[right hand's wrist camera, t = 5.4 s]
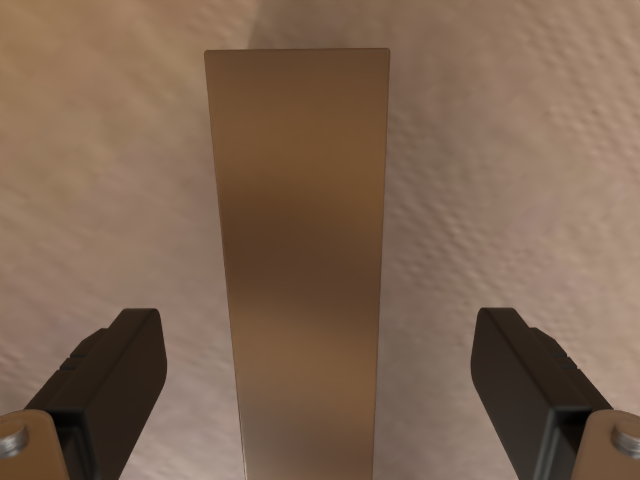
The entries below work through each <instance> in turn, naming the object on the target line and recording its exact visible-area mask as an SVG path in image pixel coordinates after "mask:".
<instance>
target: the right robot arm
mask: <svg viewBox="0 0 640 480" xmlns="http://www.w3.org/2000/svg"><path fill="white" fill-rule="evenodd" d="M166 374H167V358H166V352H165V345H164V338H163V331H162V325H161V318H160V314H159V312H158V310H157V309H155V308H126V309H124V310H122V311H121V313H120V314H119V315H118V316H117V318H116V319H115V320H114V321H113V323H112V324H111V325H110V326H109V328H101V329H100V330H98V331H96V332H95V333H93V334H92V335H90V336H89V337H87V338H86V339H84V340H83V341H82V342H81V343H80V344H79V345H78V346H77V347H76V349H75V350H74V351H73V352H72V353H71V354H70V358H67V359H66V360H65V361H64V363H63V364H62V365H61V366H60V369H59V370H57V371H56V372H55V373H54V374H53V375H52V377H51V378H50V379H49V380H48V381H47V382H46V384H45V385H44V386H43V387H42V388H41V389H40V391H39V392H38V393H37V394H36V395H35V396H34V398H33V399H32V400H31V401H30V402H29V403H28V405H27V406H26V407H25V408H24V409H23V410H20V411H16V412H12V413H9V414H6V415H3V416H1V417H0V480H118V479H119V477H120V475H121V473H122V471H123V469H124V467H125V465H126V463H127V461H128V459H129V457H130V454H131V452H132V450H133V448H134V446H135V444H136V442H137V440H138V438H139V436H140V434H141V432H142V430H143V428H144V426H145V423H146V421H147V419H148V417H149V415H150V413H151V411H152V409H153V407H154V405H155V403H156V401H157V399H158V397H159V395H160V393H161V390H162V388H163V386H164V383H165V380H166ZM471 375H472V380H473V383H474V386H475V388H476V390H477V392H478V394H479V397H480V399H481V401H482V403H483V405H484V407H485V409H486V411H487V413H488V415H489V417H490V420H491V422H492V424H493V426H494V428H495V430H496V432H497V434H498V436H499V438H500V440H501V443H502V445H503V447H504V449H505V451H506V453H507V455H508V457H509V459H510V461H511V463H512V466H513V468H514V470H515V472H516V474H517V476H518V478H519V480H640V417H639V416H637V415H634V414H631V413H628V412H624V411H620V410H614V409H613V408H612V406H611V405H610V404H609V403H608V402H607V401H606V399H605V398H604V397H603V396H602V395H601V394H600V392H599V391H598V390H597V389H596V388H595V386H594V385H593V384H592V383H591V382H590V381H589V379H588V378H587V377H586V376H585V375H584V374H583V372H582V371H581V370H580V369H577V365H576V364H575V363H574V362H573V361H572V359H571V358H570V357H567V353H566V352H565V351H564V350H563V349H562V348H561V346H560V345H559V344H558V343H557V342H556V341H555V340H554V339H553V338H551V337H550V336H548V335H547V334H545V333H544V332H542V331H541V330H539V329H537V328H529V327H528V325H527V324H526V323H525V322H524V320H523V319H522V318H521V317H520V315H519V314H518V313H517V312H516V310H515V309H513V308H481V309H480V310H479V312H478V315H477V321H476V328H475V335H474V342H473V348H472V355H471Z"/></svg>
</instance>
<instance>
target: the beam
mask: <svg viewBox="0 0 640 480" xmlns="http://www.w3.org/2000/svg"><path fill="white" fill-rule="evenodd" d="M204 60H205V70H206V81H207V91H208V101H209V111H210V122H211V132H212V142H213V153H214V163H215V173H216V183H217V194H218V204H219V214H220V225H221V235H222V245H223V255H224V266H225V276H226V286H227V297H228V307H229V317H230V328H231V338H232V348H233V358H234V369H235V379H236V389H237V400H238V410H239V420H240V430H241V441H242V451H243V461H244V472H245V480H372V479H373V455H374V431H375V407H376V383H377V359H378V335H379V311H380V286H381V262H382V238H383V214H384V190H385V166H386V142H387V118H388V94H389V70H390V50H389V49H388V48H338V49H256V50H206V51H205V52H204Z"/></svg>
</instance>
